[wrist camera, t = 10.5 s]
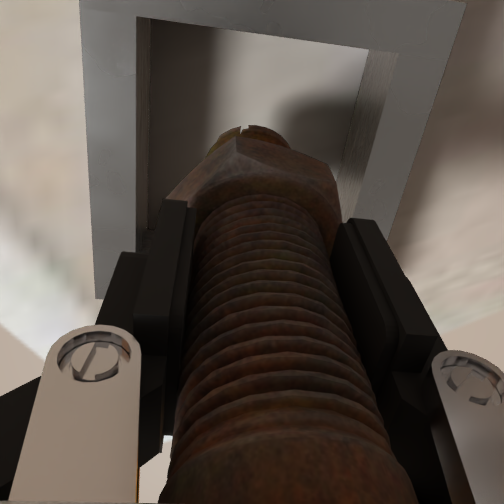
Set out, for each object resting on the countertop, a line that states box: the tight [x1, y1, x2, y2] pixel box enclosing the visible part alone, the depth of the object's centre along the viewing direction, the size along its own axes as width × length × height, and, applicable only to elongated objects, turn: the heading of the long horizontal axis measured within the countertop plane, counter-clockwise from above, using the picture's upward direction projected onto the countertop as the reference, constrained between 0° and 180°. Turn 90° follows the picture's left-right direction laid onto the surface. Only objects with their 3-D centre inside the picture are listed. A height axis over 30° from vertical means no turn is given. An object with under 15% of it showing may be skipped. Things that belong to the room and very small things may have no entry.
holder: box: [79, 0, 467, 299], centre depth 17 cm, size 10×12×3 cm
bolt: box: [158, 125, 419, 504], centre depth 10 cm, size 6×5×15 cm
